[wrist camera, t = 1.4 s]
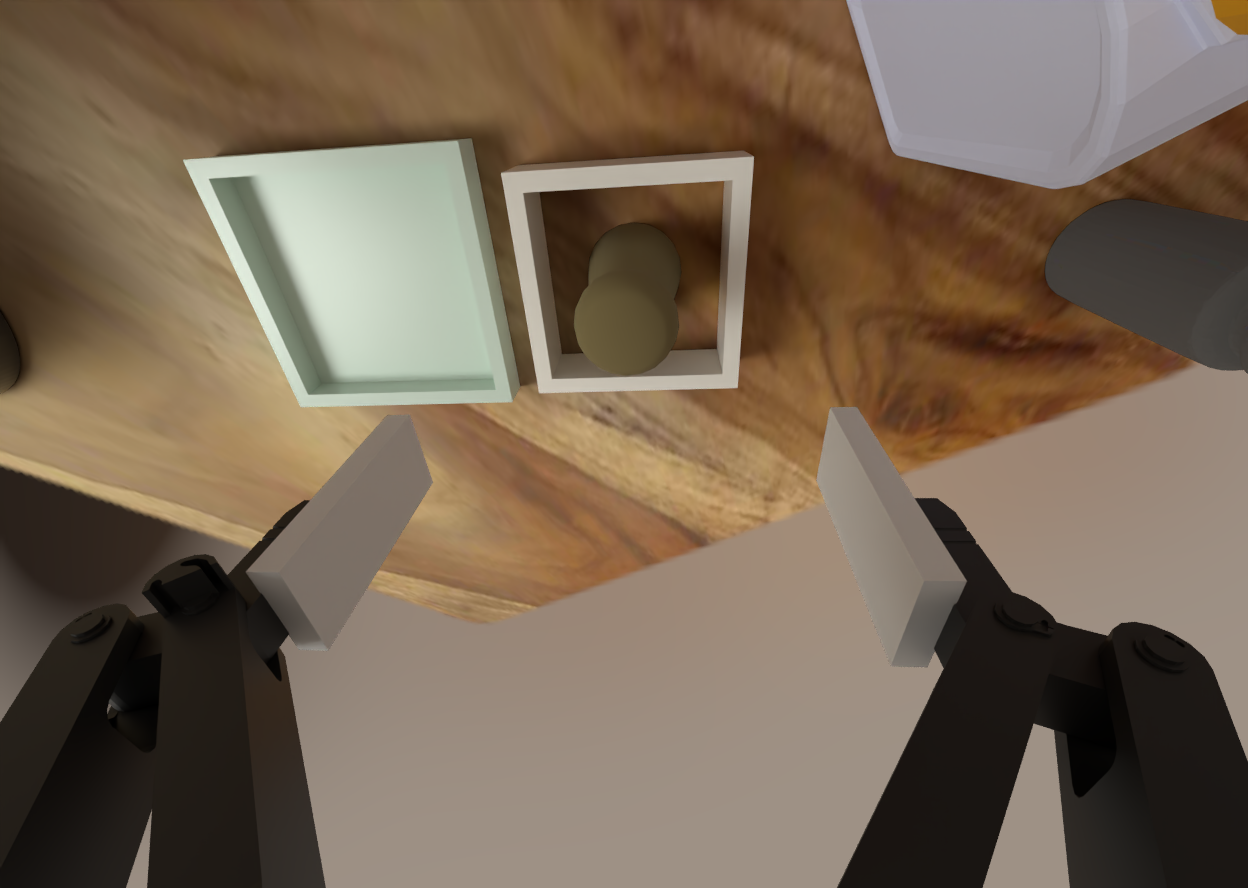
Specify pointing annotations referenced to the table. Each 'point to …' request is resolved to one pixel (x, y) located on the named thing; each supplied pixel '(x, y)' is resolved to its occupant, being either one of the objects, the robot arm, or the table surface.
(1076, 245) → the bottle
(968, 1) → the soap bottle
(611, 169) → the frame
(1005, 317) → the table surface
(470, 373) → the tray
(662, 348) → the cork
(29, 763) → the robot arm
